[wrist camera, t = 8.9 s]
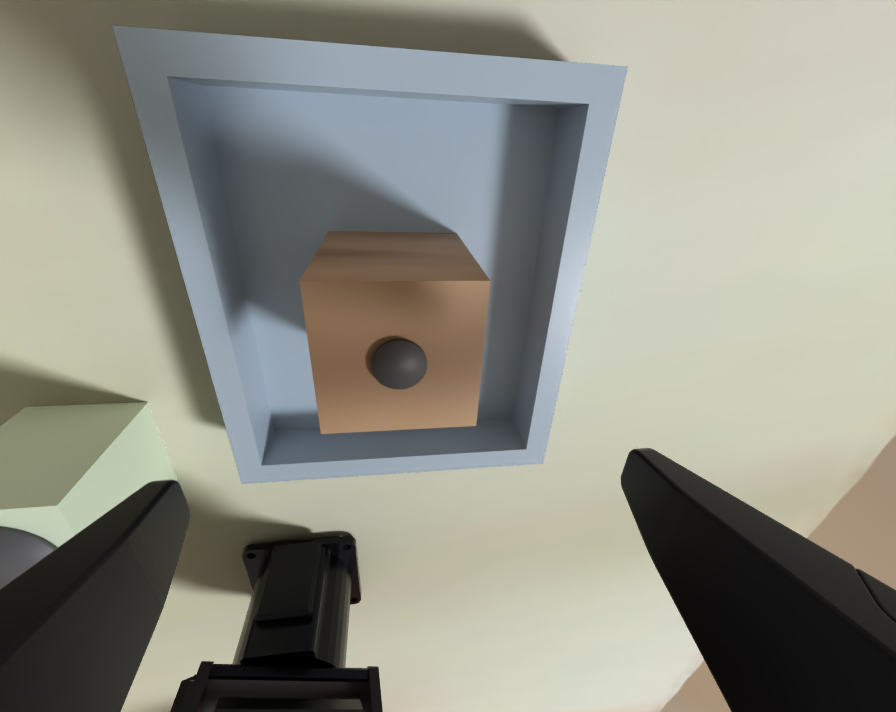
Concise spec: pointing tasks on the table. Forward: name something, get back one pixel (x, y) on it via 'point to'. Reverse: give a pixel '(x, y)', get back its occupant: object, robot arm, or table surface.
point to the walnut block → (395, 330)
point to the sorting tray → (370, 219)
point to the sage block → (70, 473)
